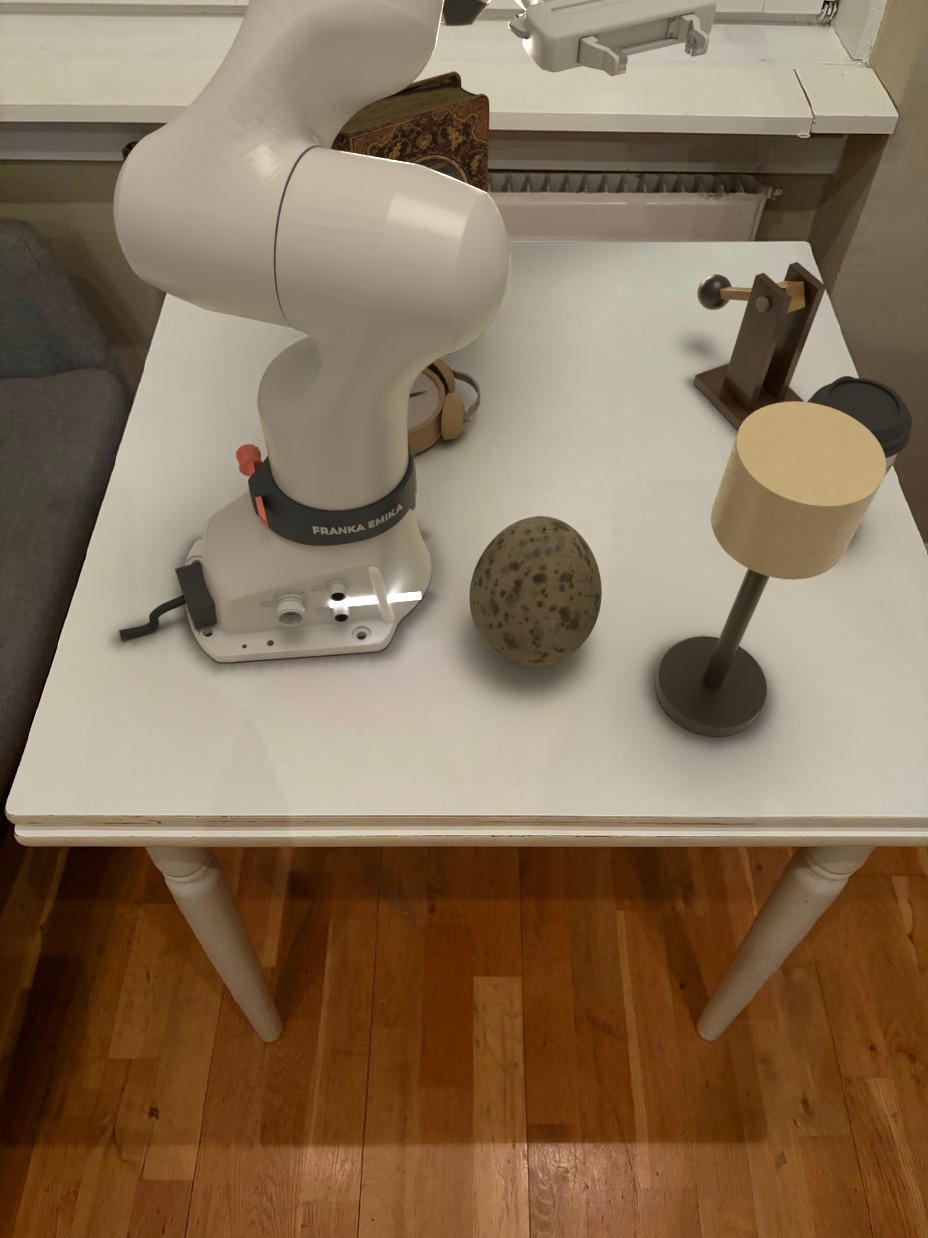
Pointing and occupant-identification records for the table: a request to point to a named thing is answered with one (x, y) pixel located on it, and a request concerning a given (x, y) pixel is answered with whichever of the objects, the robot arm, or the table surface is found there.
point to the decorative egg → (536, 592)
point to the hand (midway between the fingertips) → (661, 56)
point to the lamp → (771, 546)
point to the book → (426, 129)
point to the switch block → (764, 349)
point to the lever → (742, 292)
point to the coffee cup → (870, 411)
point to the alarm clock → (437, 406)
